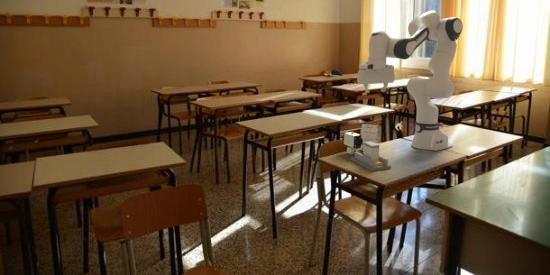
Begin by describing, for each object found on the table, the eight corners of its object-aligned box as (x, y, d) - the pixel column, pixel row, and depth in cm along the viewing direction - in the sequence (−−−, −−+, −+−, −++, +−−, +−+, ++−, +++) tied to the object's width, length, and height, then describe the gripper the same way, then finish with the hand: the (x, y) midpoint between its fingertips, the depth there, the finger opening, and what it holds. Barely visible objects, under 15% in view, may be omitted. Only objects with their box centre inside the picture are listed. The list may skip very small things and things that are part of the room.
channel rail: (369, 157, 214) (370, 149, 213) (390, 168, 198) (391, 159, 196) (351, 160, 210) (351, 151, 209) (371, 171, 194) (371, 162, 193)
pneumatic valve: (355, 157, 215) (356, 134, 212) (341, 151, 225) (341, 130, 222) (363, 155, 218) (364, 133, 215) (348, 150, 228) (349, 128, 225)
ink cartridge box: (376, 149, 229) (378, 123, 226) (376, 151, 225) (377, 125, 221) (360, 148, 232) (362, 122, 228) (360, 150, 227) (361, 124, 223)
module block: (370, 156, 207) (371, 141, 205) (378, 160, 201) (379, 144, 199) (363, 157, 206) (364, 142, 204) (371, 161, 199) (372, 145, 197)
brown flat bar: (367, 156, 211) (367, 154, 211) (383, 164, 198) (383, 162, 198) (358, 157, 209) (358, 155, 209) (373, 166, 196) (374, 164, 196)
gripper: (390, 63, 214) (388, 90, 218) (356, 65, 208) (354, 92, 211) (398, 64, 209) (396, 92, 212) (363, 66, 202) (361, 94, 205)
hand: (375, 92), depth 212 cm, fingers open, 8 cm apart
